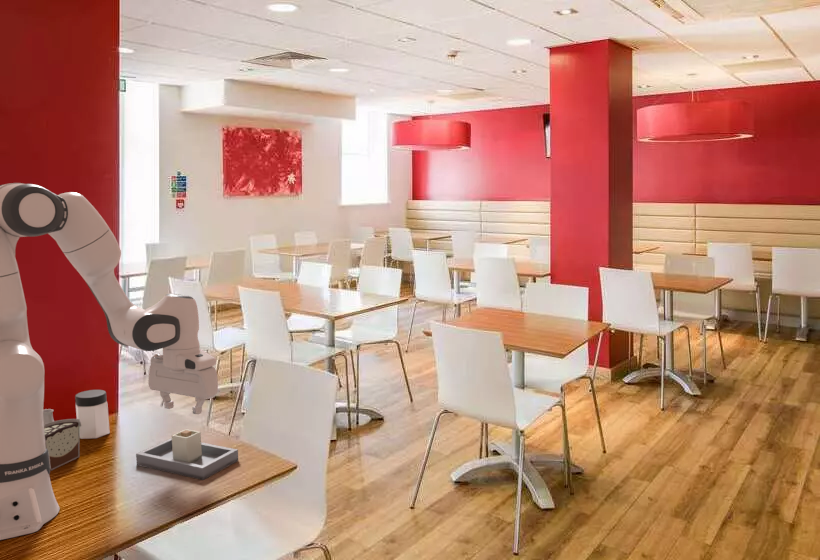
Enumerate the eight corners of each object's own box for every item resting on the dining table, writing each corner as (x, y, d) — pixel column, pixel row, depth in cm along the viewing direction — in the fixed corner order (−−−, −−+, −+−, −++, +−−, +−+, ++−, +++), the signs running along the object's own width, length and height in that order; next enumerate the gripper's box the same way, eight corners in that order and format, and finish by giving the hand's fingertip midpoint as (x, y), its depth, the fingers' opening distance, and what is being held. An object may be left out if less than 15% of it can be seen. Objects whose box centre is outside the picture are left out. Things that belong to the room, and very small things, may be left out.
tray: (203, 480, 168) (202, 468, 167) (136, 464, 177) (136, 453, 177) (238, 460, 179) (237, 449, 179) (174, 447, 189) (173, 436, 189)
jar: (97, 426, 206) (94, 387, 204) (116, 431, 202) (113, 391, 201) (70, 436, 198) (67, 396, 196) (89, 441, 194) (86, 399, 193)
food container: (65, 452, 187) (62, 416, 185) (83, 454, 185) (80, 418, 183) (26, 469, 175) (23, 431, 174) (45, 473, 173) (42, 434, 172)
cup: (188, 464, 175) (186, 436, 174) (173, 461, 177) (171, 433, 176) (202, 457, 179) (200, 430, 178) (187, 454, 182) (185, 427, 181)
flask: (51, 451, 187) (48, 415, 186) (28, 449, 189) (25, 414, 187) (69, 441, 194) (67, 407, 193) (47, 440, 196) (44, 405, 194)
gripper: (141, 355, 176) (143, 408, 178) (203, 364, 167) (204, 420, 169) (160, 350, 182) (161, 402, 183) (221, 359, 173) (222, 413, 175)
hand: (183, 410), depth 176 cm, fingers open, 8 cm apart
